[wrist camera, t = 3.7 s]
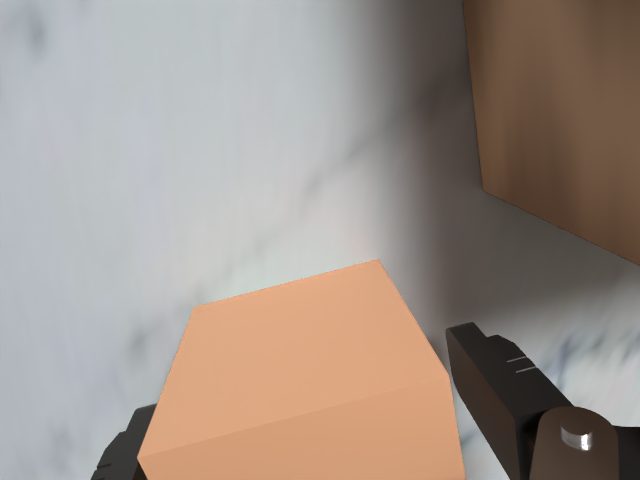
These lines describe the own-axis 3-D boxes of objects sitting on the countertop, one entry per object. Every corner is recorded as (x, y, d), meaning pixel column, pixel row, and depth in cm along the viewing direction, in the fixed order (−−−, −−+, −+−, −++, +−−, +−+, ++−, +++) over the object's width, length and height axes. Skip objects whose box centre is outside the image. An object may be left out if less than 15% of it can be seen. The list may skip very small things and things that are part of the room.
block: (194, 305, 13) (136, 458, 7) (377, 258, 13) (449, 375, 7) (249, 447, 14) (234, 648, 9) (408, 405, 14) (483, 581, 9)
